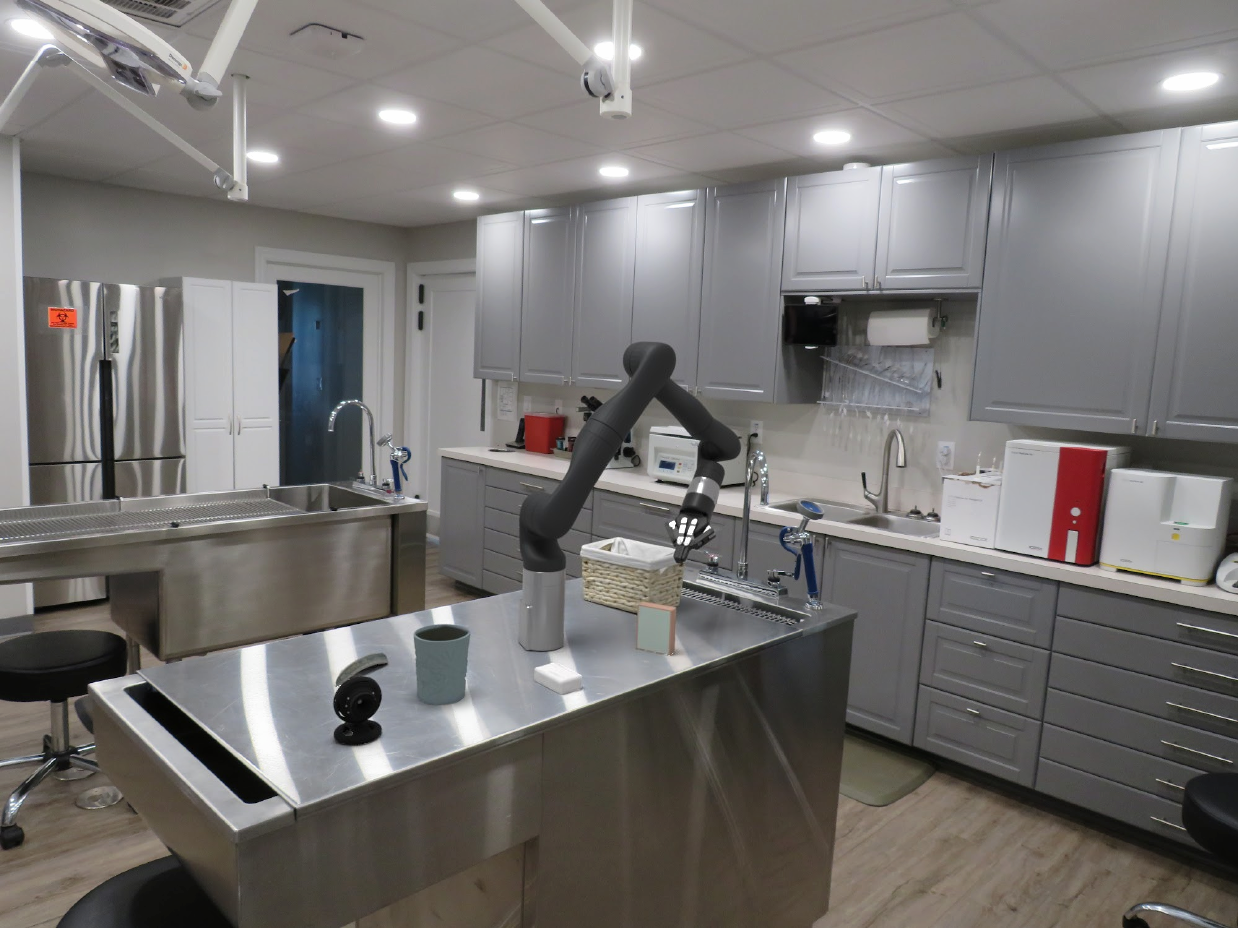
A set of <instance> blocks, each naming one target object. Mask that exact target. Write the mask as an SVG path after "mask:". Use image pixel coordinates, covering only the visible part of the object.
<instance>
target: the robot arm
mask: <svg viewBox="0 0 1238 928" xmlns="http://www.w3.org/2000/svg"><path fill="white" fill-rule="evenodd" d="M676 364H677V356H676V352H675V349H674V348H673V347H672V346H671V345H670V344H668V343H666V342H665V343H664V342H660V341H637V342H634V343H631V344H629V345H628V347H626V349H625V351H624V353H623V355H622V365H623V369H624V371H625V373H626V374H627V375H628V377H629V378H630V379H629V381H628V382H627V383H626V385H625V386H624V387H623V388H622V389H621V390H620V391H619V392H617V393H616V394H615V395H614V396H612V397H611V398H609V399H608V400H606V402H604V403H603V404H601V405H600V406H599V407H598V408H596V409H595V410H594V411H593V413H591V415H590V416H589V418H588V419H587V420H586V422H585V423H584V425H583V426H582V427H581V429H580V431H579V432H578V434H577V436H576V438H575V440H574V442H573V447H572V451H571V458H570V463H569V466H568V469H567V471H566V474H565V475H564V476H563V479H562V480H561V482H560V483H558V485H557V487H556V488H555V490H554V491H553V492H552V493H549V492H545V491H535V492H532V493H530V494H529V495H527V496H526V498H524V500H523V502H522V503H521V507H520V508H519V509H520V511H519V518H518V523H519V524H518V527H519V528H518V529H519V530H518V531H519V532H518V533H519V534H518V535H519V539H518V540H519V552H520V555H521V559H522V595H521V596H522V597H521V599H519V601H518V602H519V603H518V641H517V642H518V643H519V644H520V645H521V647H523V649H525V651H537V652H538V651H541V652H543V651H544V652H547V651H554V650H558V649H561V648H562V647H563V646H564V642H565V641H564V640H565V613H566V612H565V611H566V609H565V608H566V607H565V606H566V576H567V575H566V572H567V571H566V570H567V557H566V556H567V555H566V554H565V552H564V551H563V550H562V548H561V547H560V544H559V541H558V540H560V538H563V537H564V536H566V534H568V533H569V532H570V531H571V529H572V527H573V526H574V525H575V522H576V520H577V519H578V517H579V515H580V513H581V511H582V510H583V509H582V508H583V507H584V506H585V503H586V501H587V499H588V497H589V496H590V493H591V492H592V490H593V489H594V488H595V485H596V484H597V483H598V481H599V479H600V478H601V477H602V475H603V474H604V472H605V470H606V469H607V467H608V465H609V463H610V462H611V461H612V459H613V458H614V457H615V455H616V454H617V452H618V451H619V449H620V448H621V447H622V444H623V443H624V442H625V440H626V439H627V437H628V435H629V433H631V430H632V429H633V427H634V426H635V424H636V423H637V422H638V420H639V419H640V417H641V416H642V414H643V413H644V411H645V410H646V409H647V406H649V404H650V403H651V401H652V400H653V399H655V400H656V401H658V402H659V403H660V404H661V405H662V406H664V408H665V409H666V410H667V411H668V412H669V413H670V414H671V415H672V416H673V417H674V418H675V420H677V421H678V423H679V424H680V425H681V426H682V427H683V428H684V430H685V431H686V432H687V433H688V434H689V435H690V437H691V438H692V439H694V440H696V441H699V443H698V444H697V450H696V452H697V453H696V457H697V459H696V469H695V471H694V475H693V477H692V479H691V482H690V483H689V485H688V488H687V490H686V493H685V496H684V498H683V501H682V503H681V506H680V508H679V512H678V515H677V516H676V517H675V518H674V520H673V521H671V522H668V521H666V522H664V523H663V526H664V528H665V530H666V534H667V535H668V537H669V539H670V541H671V544H672V546H673V547H674V549H675V552H674V555H673V557H674V559H675V561H676V563H679V564H683V562H685V561H686V560H687V561H688V557H689V554H690V552H691V551H692V550H695V551H698V550H700V549H701V548H702V547H704V546H705V545H707V544H708V543H710V542H711V541H712V540H714V539H715V538H716V537H717V534H716V530H715V529H714V527H711V523H710V521H711V520H712V517H713V514H714V511H715V508H716V506H717V504H718V500H719V496H720V492H721V491H720V490H721V488H722V485H723V482H724V478H725V476H726V471H725V467H724V466H723V465H722V464H721V463H720V462H725V461H727V462H728V461H731V460H735V459H736V458H738V457H739V455H740V454H741V451H742V443H741V441H740V439H739V436H738V435H737V434H736V433H735V431H733V430H732V429H731V428H730V427H728V426H727V425H725V424H724V423H722V422H721V421H719V420H717V419H716V418H714V416H713V415H712V414H711V413H710V412H709V411H708V409H707V408H706V407H705V405H704V404H703V403H702V401H700V400H699V399H698V398H696V397H695V395H693V394H692V393H690V392H688V391H687V390H686V389H685V388H683V387H682V386H681V385H679V384H678V383H677V382H676V381H674V380H673V379H672V378H671V377H672V375H673V373H674V371H675V368H676ZM676 528H677V531H678V537H677V538H676V535H675V534H674V533H675V532H676ZM685 563H686V562H685Z"/></svg>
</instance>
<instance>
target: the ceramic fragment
mask: <svg viewBox="0 0 1238 928" xmlns="http://www.w3.org/2000/svg"><path fill="white" fill-rule="evenodd" d="M385 663H387V664H389V660H388V657H387V655H386V654H385V653H383V652H380V651H379V652H373V653H370V654H366V655H364V656H361V657H359V658H357V659H355V660H354V661H352V662H350V663H349V664H348V665H347V666H345V667H344V668H342V669H341V670H340V672H339V673H338V676H337V677H336V680H335V685H336V687H337V686H338V687H340V686H339V685H341V684H342V683H343V682H345V681H347V680H348V679H350V678H353V677H354V676H355V675H356V674H357V673H359V672H361V671H362V670H365V669H367V668H369V667H372V666H376V665H377V664H378V665H386V664H385Z"/></svg>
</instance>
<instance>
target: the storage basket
mask: <svg viewBox="0 0 1238 928" xmlns="http://www.w3.org/2000/svg"><path fill="white" fill-rule="evenodd" d="M675 549H676V548H672V547H669V546H662V545H657V544H652V543H648V542H642V541H638V540H635V539H628V538H624V537H621V536H620V537H619V536H617V537H612V538H608V539H603V540H599V541H594V542H591V543H586V544H583V545H581V550H580V552H579V556H580V557H581V565H582V568H581V571H582V572H581V577H582V592H583V599H584V600H585V601H589V602H590V601H591V603H596V604H600V605H602V606H603V605H604V606H606V607H611V608H617V609H619V610H622V611H624V612H625V611H627V612H630V613H633V614H634V613H635V614H637V612H638V604H639V603H641V602H648V603H654V604H659V605H665V606H670V607H676V608H677V607H678V606H679V605H680V604H681V597H682V590H683V582H684V573H685V569H686V568H685V567H686V563H687V562H688V559H687V560H686V561H685V562H683V564H679V563H676V561H675V559H674V557H673V555H674V552H675Z"/></svg>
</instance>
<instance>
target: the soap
mask: <svg viewBox="0 0 1238 928" xmlns="http://www.w3.org/2000/svg"><path fill="white" fill-rule="evenodd" d="M533 674H534V675H533V677H534V678H533V680H534V681H535V682H536V683H538V684H539V685H541V686H543V687H546V688H548V689H550V690H551V691H553V692H555V693H557V695H566V694H569V693H572V692H575V691H578V690H582V688H583V678H584V677H583V675H581V674H580V673H578V672H576V671H574V670H573V669H570V668H568V667H566V666H564V665H562V664H561V663H559V662H551V663H547V664H544V665H540V666H536V667H534V671H533Z"/></svg>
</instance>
